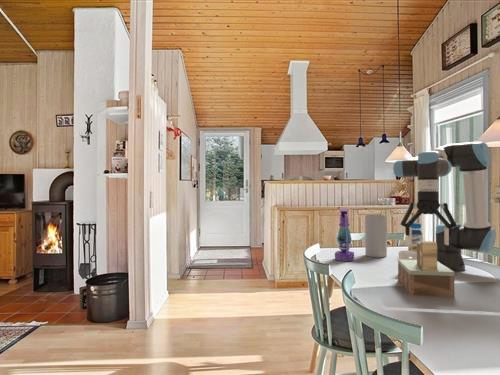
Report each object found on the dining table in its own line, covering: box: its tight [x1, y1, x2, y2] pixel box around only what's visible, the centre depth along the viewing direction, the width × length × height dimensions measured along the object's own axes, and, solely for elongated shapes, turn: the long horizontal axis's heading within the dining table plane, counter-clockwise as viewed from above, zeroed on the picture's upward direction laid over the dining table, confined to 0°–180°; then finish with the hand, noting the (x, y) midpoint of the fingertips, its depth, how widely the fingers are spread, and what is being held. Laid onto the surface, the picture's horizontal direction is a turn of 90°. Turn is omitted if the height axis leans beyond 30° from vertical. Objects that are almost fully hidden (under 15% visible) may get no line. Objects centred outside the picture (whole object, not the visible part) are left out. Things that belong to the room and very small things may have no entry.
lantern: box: [334, 208, 355, 262], centre depth 220 cm, size 13×12×30 cm
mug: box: [398, 250, 417, 260], centre depth 181 cm, size 12×9×11 cm
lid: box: [397, 242, 455, 277], centre depth 155 cm, size 22×16×10 cm
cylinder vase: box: [364, 214, 388, 259], centre depth 231 cm, size 12×12×25 cm
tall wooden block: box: [420, 240, 437, 271], centre depth 149 cm, size 5×5×20 cm
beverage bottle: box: [407, 222, 423, 252], centre depth 232 cm, size 8×8×20 cm
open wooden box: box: [397, 262, 455, 298], centre depth 155 cm, size 22×16×9 cm
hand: (428, 244), depth 148 cm, fingers open, 13 cm apart
